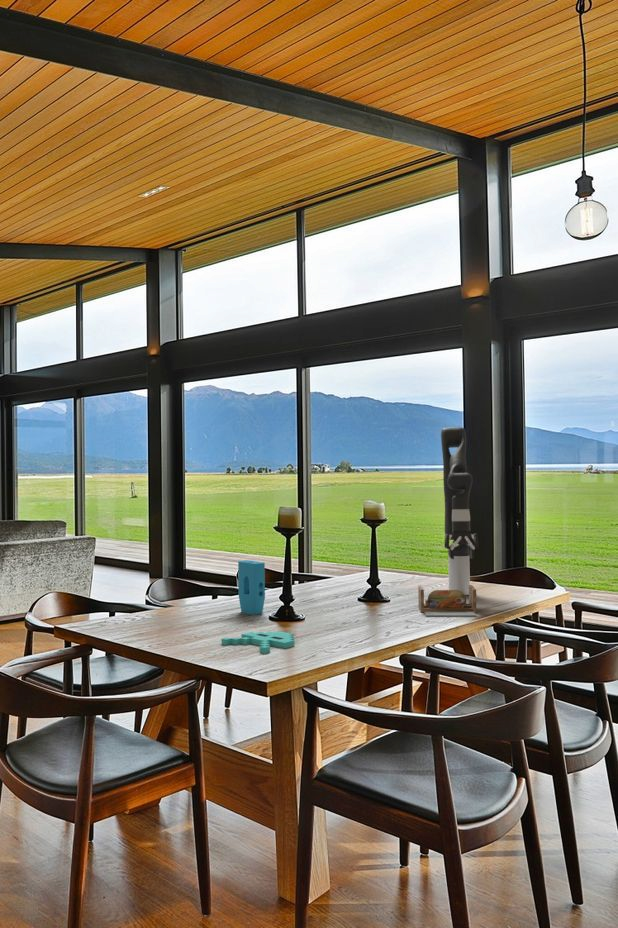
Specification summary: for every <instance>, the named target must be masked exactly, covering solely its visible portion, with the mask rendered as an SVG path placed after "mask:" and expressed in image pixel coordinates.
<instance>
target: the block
mask: <svg viewBox="0 0 618 928" xmlns="http://www.w3.org/2000/svg"><path fill="white" fill-rule="evenodd" d="M237 563H238V564H237V565H238V569H237V570H238V577H237V578H238V579H237V580H238V583H237V584H238V599H239V606H240V612H241V613H243V614H247V615H252V616H256V615H263V613H264V606H265V605H264V604H265V598H266V587H265V586H266V583H265V582H266V580H265V579H266V577H265V576H266V574H265V573H266V571H265V570H266V569H265V568H266V565H265V562H263V561H257V560H256V561H255V560H249V559H246V560H239V561H237Z"/></svg>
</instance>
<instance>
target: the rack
mask: <svg viewBox="0 0 618 928" xmlns="http://www.w3.org/2000/svg"><path fill="white" fill-rule="evenodd" d="M417 588H418V592H417V593H418V595H417V596H418V602H417V603H418V610H419V611H420V613H422V614H423V613H424V612H474V613H475V614H476V613H477V589H476V588H475V587H474V585H472V584H470V585H469V595H468V603H467V602H466V604H465V606H464V608H430V607H429V605H424V604H425V589H424V587H423V586H422V585H421V584H420V585H419V584H418V587H417Z"/></svg>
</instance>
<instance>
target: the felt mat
mask: <svg viewBox="0 0 618 928" xmlns="http://www.w3.org/2000/svg"><path fill="white" fill-rule="evenodd" d="M424 615H425V617H427V618H436V617H437V618H440V617H441V618H445V617H446V618H451V617H452V618H453V617H454V618H460V617H462V618H465V617H466V618H467V617H469V618H472V617H473V618H477V614H476V613H474V612H424Z"/></svg>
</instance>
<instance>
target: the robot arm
mask: <svg viewBox="0 0 618 928" xmlns="http://www.w3.org/2000/svg"><path fill="white" fill-rule="evenodd" d="M440 431H441V432H440V440H441V441H440V442H441V451H442V460H443V461H442V464H443V465H442V466H443V468H442V469H443V474H442V475H443V477H442V478H443V493H444V549H447V550H448V551H447V553H448V554H447V555H448V557H447V559H448V565H447V566H448V590H459V591H461V592H462V593H463V594H464V595H465V596H469V585H471V580H470V579H471V578H470V577H471V575H470V574H471V573H470V572H471V571H470V568H471V566H470V563H471V562H470V559H471V560H472V559H474V558H475V553H476V551H475V550H476V549H478V548H479V547H480V544H479V542H480V541H479V535H478V533H473V534H472V533H471V512H470V494H471V489H472V485H473V481H474V480H473V479H474V478H473V476H472V474H471V473H469V472H467V471H468V468H467V460H466V457H467V456H466V453H467V432H466V429H465V428H464V427H461V426H457V427H456V426H455V427H451V426H450V427H443V428H442V429H441V430H440ZM451 448H452V449H453V448H454V449H455V448H456V449H455V451H454V452H453V453H452V454H451V451H450V449H451ZM471 538H472V540H473V543H472V541H471ZM450 541H451V543H450Z"/></svg>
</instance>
